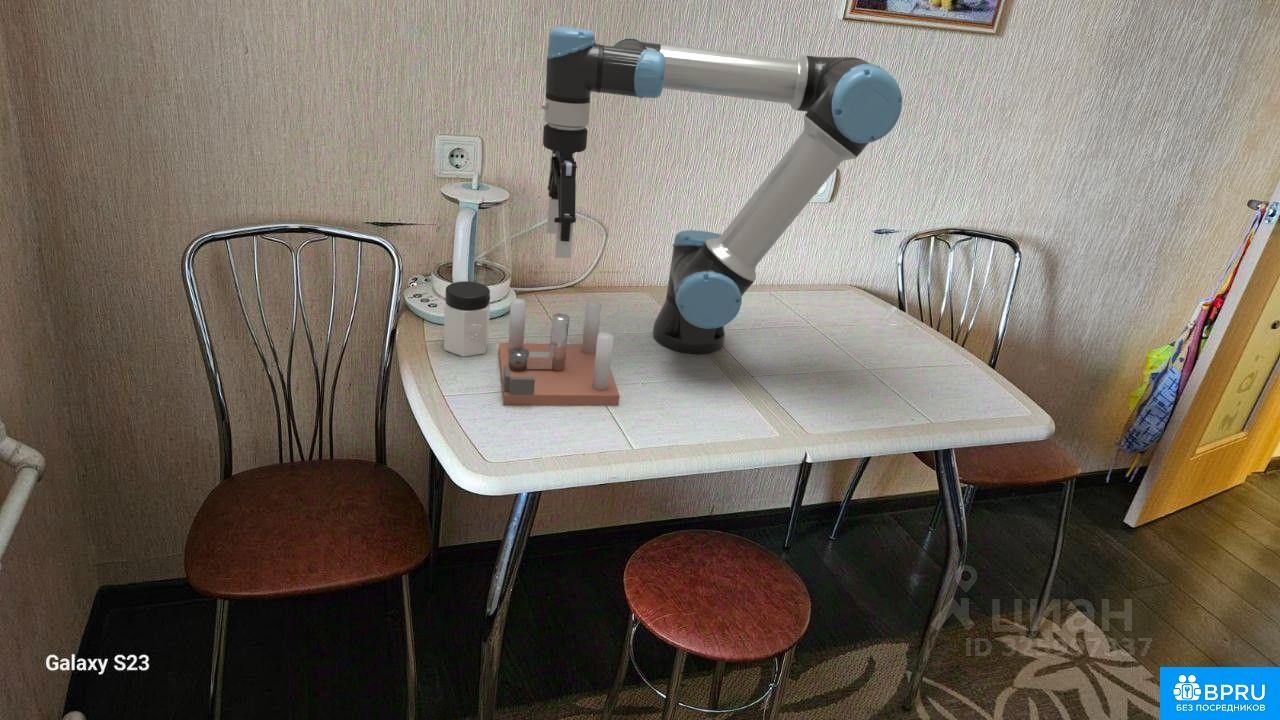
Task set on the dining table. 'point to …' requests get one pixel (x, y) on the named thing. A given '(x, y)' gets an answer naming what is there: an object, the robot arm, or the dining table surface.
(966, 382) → the dining table surface
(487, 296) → the jar
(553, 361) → the shiny metal angled handle
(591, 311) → the seat
